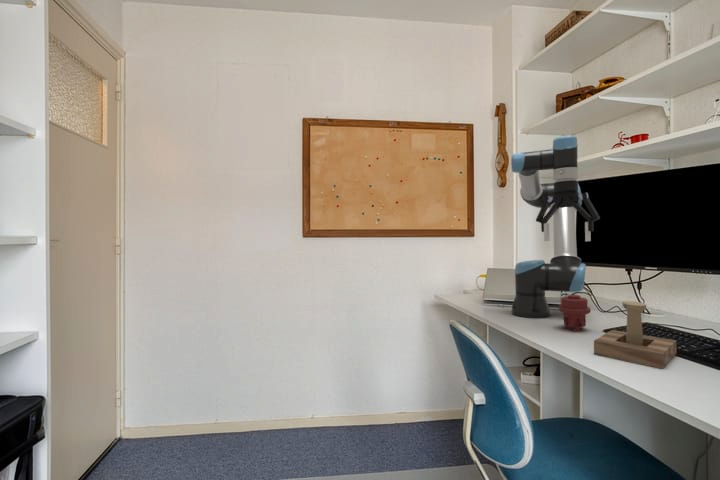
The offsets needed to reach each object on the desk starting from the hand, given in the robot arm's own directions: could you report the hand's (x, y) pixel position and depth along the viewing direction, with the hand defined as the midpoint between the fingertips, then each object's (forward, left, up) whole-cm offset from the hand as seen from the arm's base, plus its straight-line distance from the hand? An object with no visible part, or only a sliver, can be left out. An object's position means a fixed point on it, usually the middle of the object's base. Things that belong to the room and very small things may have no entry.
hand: (566, 241), depth 129 cm
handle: (+10, +22, -33) cm, 41 cm away
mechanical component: (-6, 0, -33) cm, 33 cm away
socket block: (+10, +22, -33) cm, 41 cm away
